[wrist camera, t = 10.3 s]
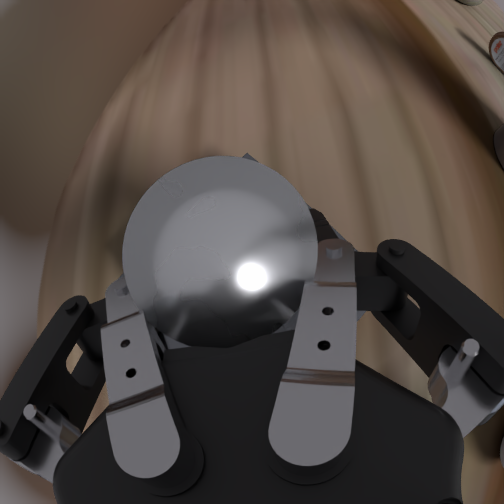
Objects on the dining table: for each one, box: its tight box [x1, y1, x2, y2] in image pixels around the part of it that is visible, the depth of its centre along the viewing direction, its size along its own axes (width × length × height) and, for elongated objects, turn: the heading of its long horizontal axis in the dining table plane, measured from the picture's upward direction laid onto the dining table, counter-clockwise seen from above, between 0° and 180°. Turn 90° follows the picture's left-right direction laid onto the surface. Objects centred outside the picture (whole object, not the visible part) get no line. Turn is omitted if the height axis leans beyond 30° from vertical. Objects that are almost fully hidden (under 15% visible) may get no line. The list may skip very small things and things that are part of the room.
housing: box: [122, 156, 318, 348], centre depth 12 cm, size 6×6×10 cm
